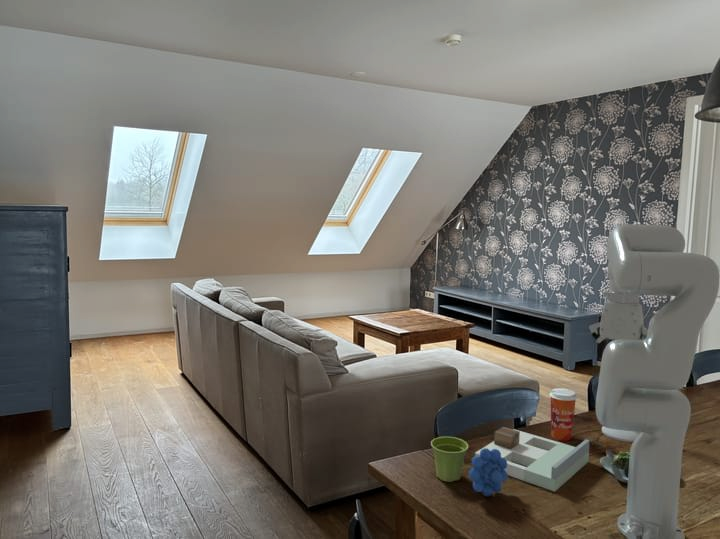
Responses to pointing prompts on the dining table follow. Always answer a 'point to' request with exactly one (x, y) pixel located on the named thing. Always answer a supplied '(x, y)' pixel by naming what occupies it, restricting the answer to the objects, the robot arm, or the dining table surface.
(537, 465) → the white compartment tray
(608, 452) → the salad plate
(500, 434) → the block
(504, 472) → the grapes
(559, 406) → the paper cup
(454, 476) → the plant pot
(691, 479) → the dining table surface
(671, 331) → the robot arm
